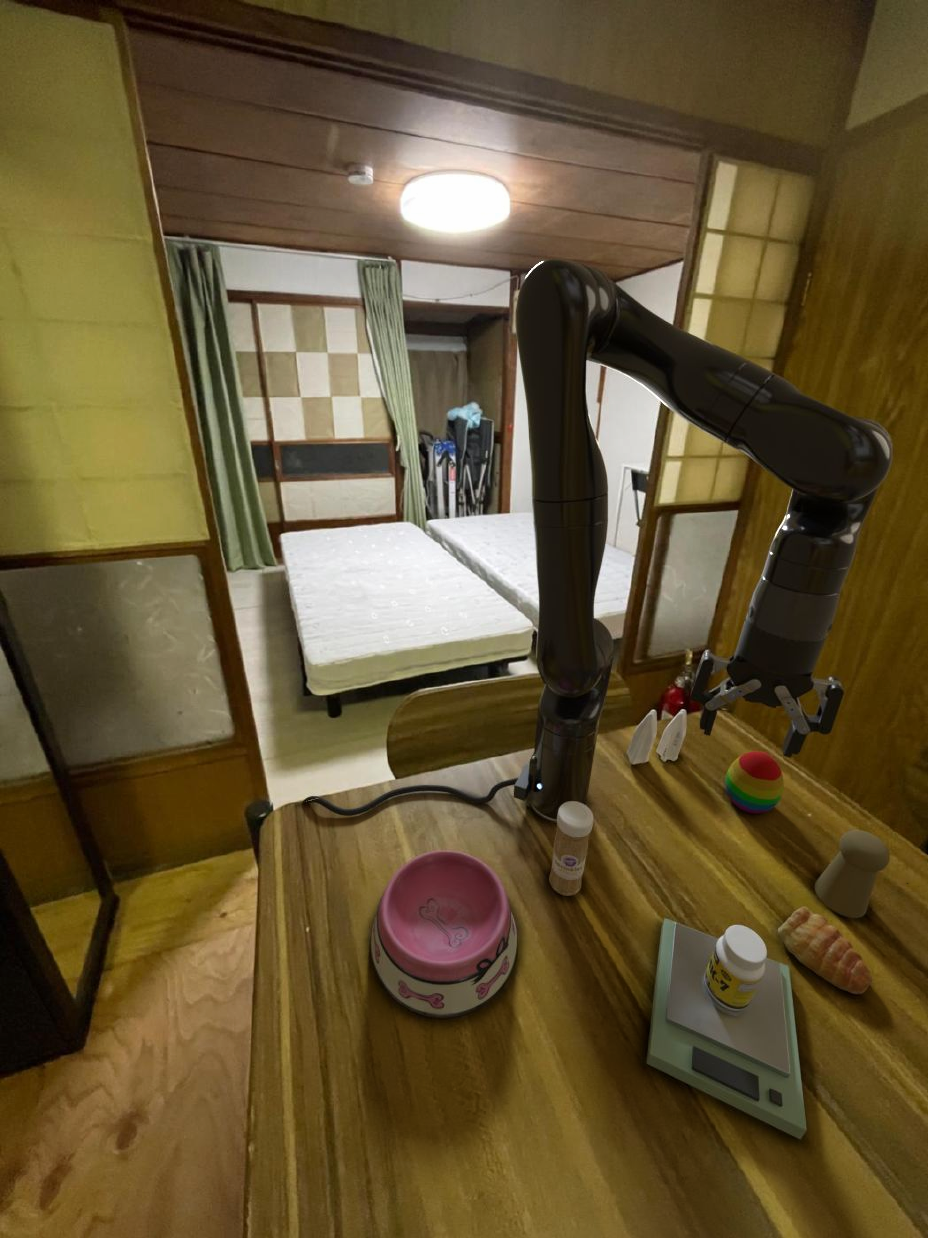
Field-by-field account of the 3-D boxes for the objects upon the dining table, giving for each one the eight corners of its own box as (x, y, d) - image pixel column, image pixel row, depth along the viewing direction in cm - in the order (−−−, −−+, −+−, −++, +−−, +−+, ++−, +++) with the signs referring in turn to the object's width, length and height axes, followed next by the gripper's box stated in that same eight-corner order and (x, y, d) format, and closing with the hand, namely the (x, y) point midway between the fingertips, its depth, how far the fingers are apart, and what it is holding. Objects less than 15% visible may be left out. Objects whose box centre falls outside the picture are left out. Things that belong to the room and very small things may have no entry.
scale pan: (665, 1022, 55) (666, 1018, 55) (673, 926, 65) (675, 922, 64) (788, 1078, 51) (790, 1074, 50) (778, 967, 60) (780, 963, 60)
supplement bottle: (695, 968, 59) (712, 922, 56) (734, 964, 60) (753, 918, 56) (717, 1014, 55) (737, 968, 51) (759, 1011, 55) (781, 964, 52)
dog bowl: (448, 849, 77) (448, 816, 74) (547, 938, 65) (552, 903, 62) (341, 934, 65) (336, 899, 62) (439, 1061, 53) (439, 1026, 50)
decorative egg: (726, 776, 91) (740, 732, 87) (778, 797, 87) (795, 751, 83) (716, 805, 85) (730, 758, 81) (771, 828, 81) (789, 781, 77)
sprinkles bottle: (552, 898, 70) (562, 827, 64) (546, 868, 74) (554, 799, 68) (585, 897, 70) (598, 826, 64) (577, 867, 74) (588, 799, 68)
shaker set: (630, 772, 92) (640, 722, 87) (617, 757, 95) (626, 708, 91) (686, 759, 95) (698, 711, 90) (671, 745, 99) (683, 697, 94)
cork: (875, 922, 67) (908, 865, 63) (825, 913, 68) (853, 856, 64) (853, 882, 73) (883, 826, 68) (807, 874, 74) (832, 818, 69)
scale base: (646, 1064, 53) (650, 1051, 52) (661, 927, 66) (665, 915, 65) (800, 1140, 48) (808, 1128, 47) (784, 976, 61) (790, 963, 60)
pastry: (877, 977, 61) (890, 958, 60) (849, 1010, 58) (861, 991, 56) (798, 913, 68) (807, 894, 67) (769, 939, 65) (777, 920, 64)
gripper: (860, 621, 54) (810, 741, 62) (714, 595, 60) (684, 708, 67) (876, 653, 48) (818, 782, 55) (712, 620, 54) (679, 742, 61)
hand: (745, 741), depth 61 cm, fingers open, 8 cm apart
